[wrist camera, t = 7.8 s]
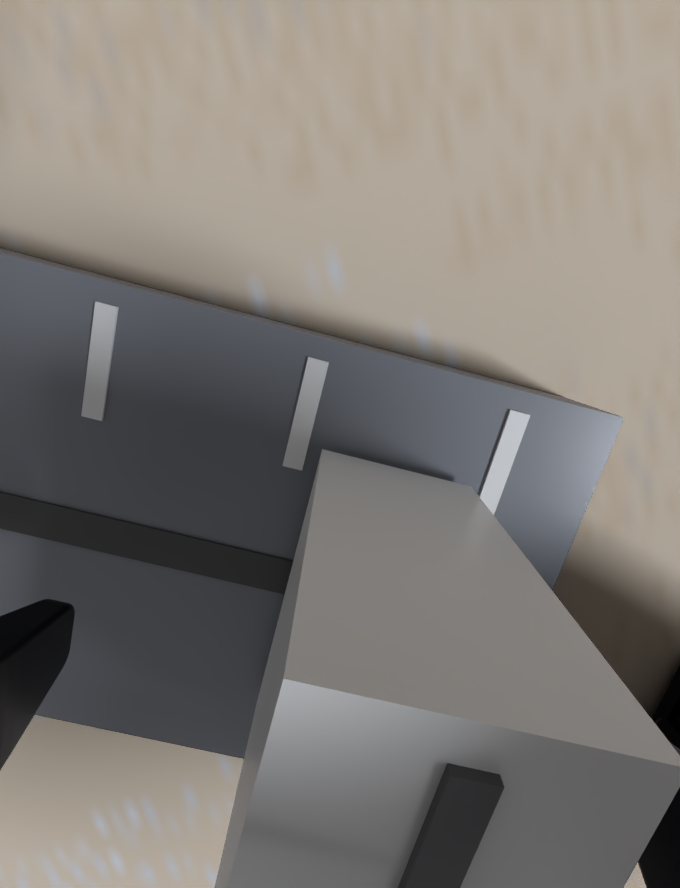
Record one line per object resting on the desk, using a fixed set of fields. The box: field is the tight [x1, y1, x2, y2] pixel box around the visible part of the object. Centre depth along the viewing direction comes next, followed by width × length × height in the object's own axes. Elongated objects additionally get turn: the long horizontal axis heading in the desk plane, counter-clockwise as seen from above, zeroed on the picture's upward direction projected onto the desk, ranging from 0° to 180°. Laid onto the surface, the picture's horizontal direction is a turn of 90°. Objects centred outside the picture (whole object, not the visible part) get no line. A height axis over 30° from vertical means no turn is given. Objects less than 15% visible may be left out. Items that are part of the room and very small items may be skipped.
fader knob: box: [215, 449, 680, 888], centre depth 7 cm, size 3×6×6 cm, turn 166°
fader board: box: [0, 248, 624, 759], centre depth 11 cm, size 20×10×3 cm, turn 75°
